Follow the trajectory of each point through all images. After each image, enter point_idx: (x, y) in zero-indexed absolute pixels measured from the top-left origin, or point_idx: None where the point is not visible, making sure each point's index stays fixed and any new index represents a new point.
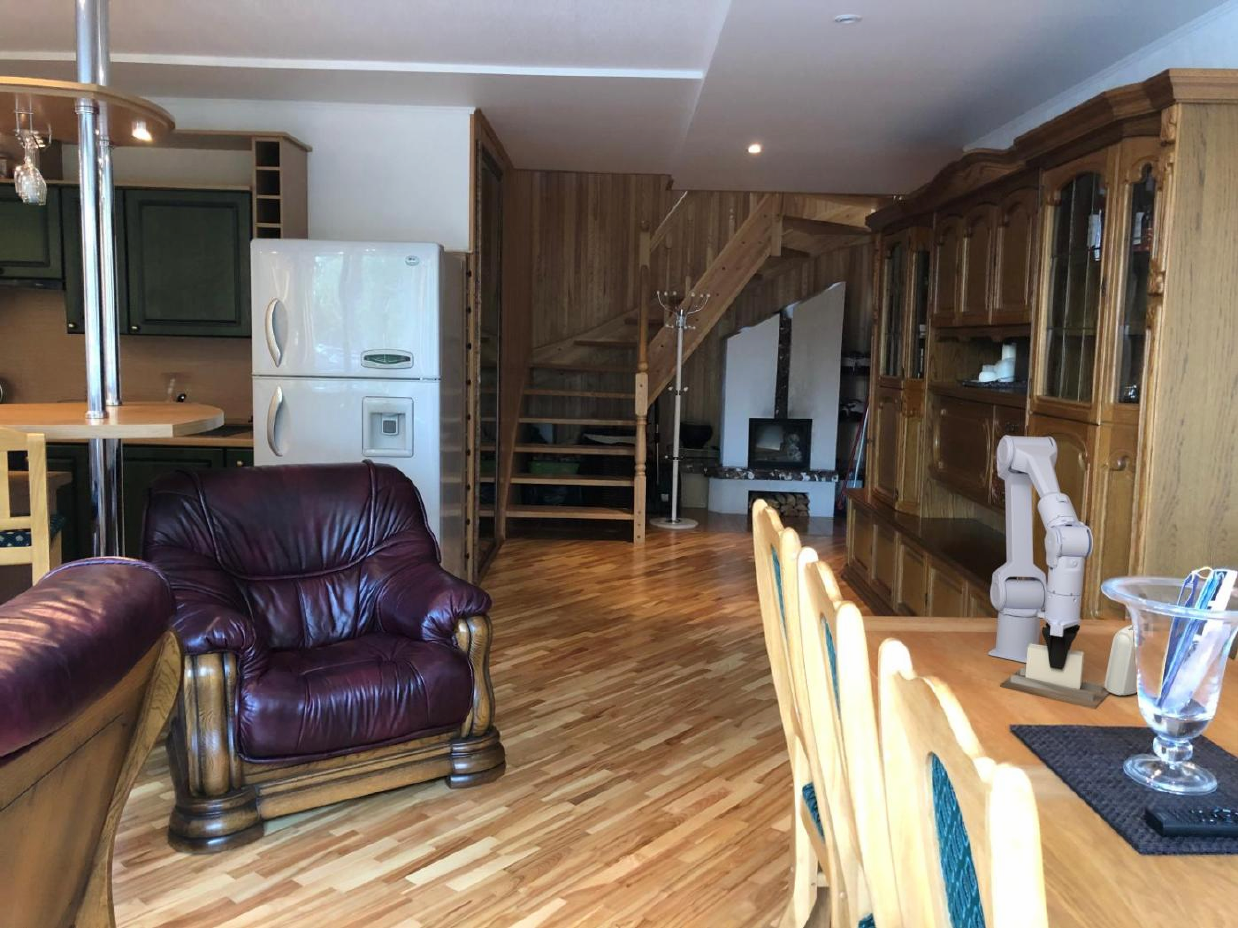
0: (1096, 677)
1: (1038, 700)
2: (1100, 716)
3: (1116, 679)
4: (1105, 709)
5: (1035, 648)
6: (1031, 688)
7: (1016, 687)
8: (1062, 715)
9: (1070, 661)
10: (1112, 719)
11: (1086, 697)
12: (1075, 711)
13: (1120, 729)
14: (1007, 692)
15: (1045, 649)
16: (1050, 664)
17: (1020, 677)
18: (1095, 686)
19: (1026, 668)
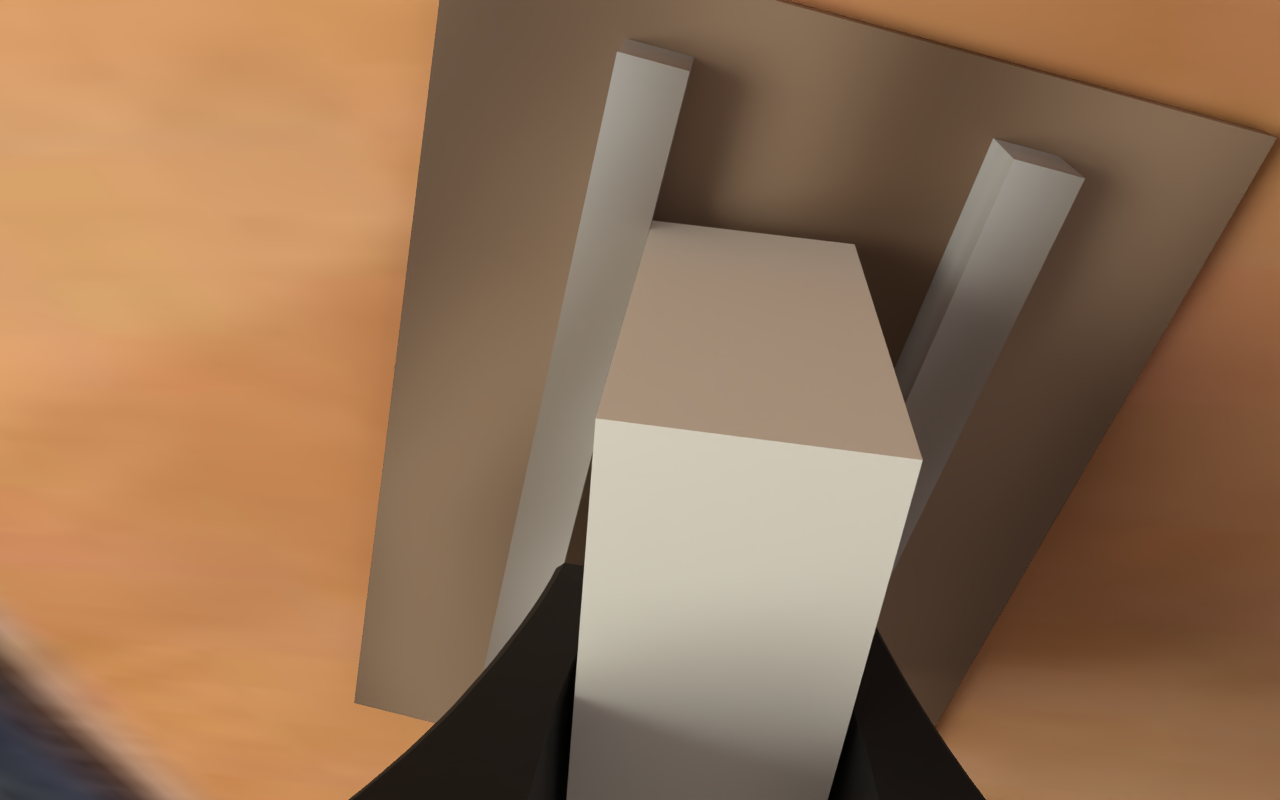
0: (1234, 766)
1: (265, 327)
2: (226, 702)
3: None
4: (403, 741)
5: (600, 531)
6: (514, 272)
7: (449, 118)
8: (35, 492)
9: None
10: (223, 754)
11: None
12: (205, 575)
13: (70, 770)
14: (296, 21)
15: (625, 658)
16: (544, 589)
17: (600, 171)
18: None
19: (641, 271)
